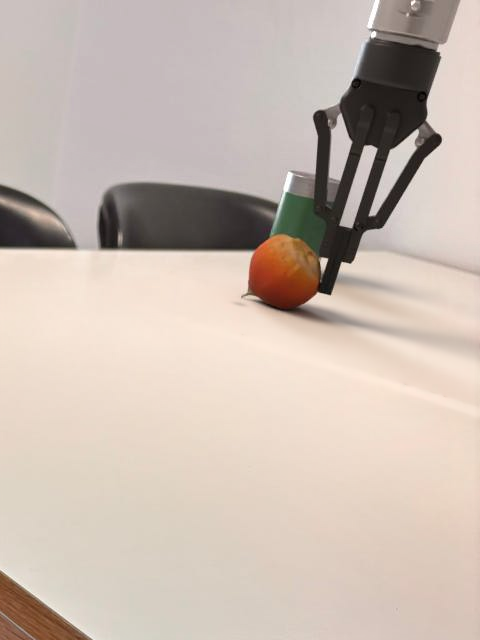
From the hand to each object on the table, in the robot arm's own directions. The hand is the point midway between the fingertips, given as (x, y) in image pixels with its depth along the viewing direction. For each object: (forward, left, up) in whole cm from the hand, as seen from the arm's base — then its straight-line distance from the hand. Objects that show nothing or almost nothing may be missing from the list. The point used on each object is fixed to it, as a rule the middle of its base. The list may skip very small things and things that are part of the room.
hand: (325, 291), depth 114 cm
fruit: (+5, 0, -3) cm, 5 cm away
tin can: (+5, -25, -3) cm, 26 cm away
